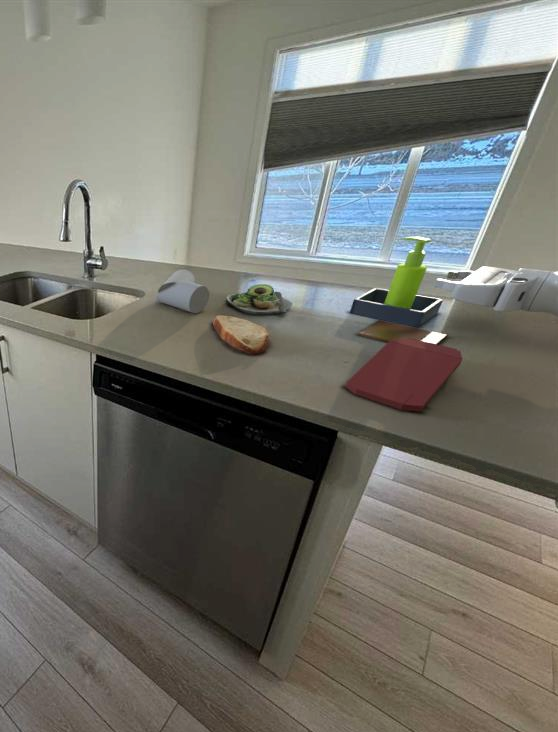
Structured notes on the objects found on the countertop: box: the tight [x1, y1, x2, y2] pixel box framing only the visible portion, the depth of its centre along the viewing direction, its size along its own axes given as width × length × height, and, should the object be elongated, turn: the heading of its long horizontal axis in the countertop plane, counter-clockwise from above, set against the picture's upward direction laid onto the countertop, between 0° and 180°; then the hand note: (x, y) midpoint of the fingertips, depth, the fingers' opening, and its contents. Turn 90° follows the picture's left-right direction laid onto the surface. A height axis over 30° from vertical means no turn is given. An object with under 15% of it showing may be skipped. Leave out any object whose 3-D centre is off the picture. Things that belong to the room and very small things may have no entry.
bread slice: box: [212, 314, 272, 355], centre depth 105 cm, size 18×18×4 cm
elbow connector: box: [155, 269, 210, 314], centre depth 130 cm, size 18×11×20 cm
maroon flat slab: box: [345, 338, 463, 413], centre depth 82 cm, size 12×5×25 cm
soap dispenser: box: [384, 236, 432, 309], centre depth 106 cm, size 6×7×20 cm
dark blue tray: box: [349, 287, 444, 328], centre depth 110 cm, size 16×14×4 cm
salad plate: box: [225, 283, 294, 316], centre depth 122 cm, size 19×18×5 cm
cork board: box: [357, 319, 448, 345], centre depth 99 cm, size 14×12×1 cm
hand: (441, 278), depth 100 cm, fingers open, 8 cm apart
